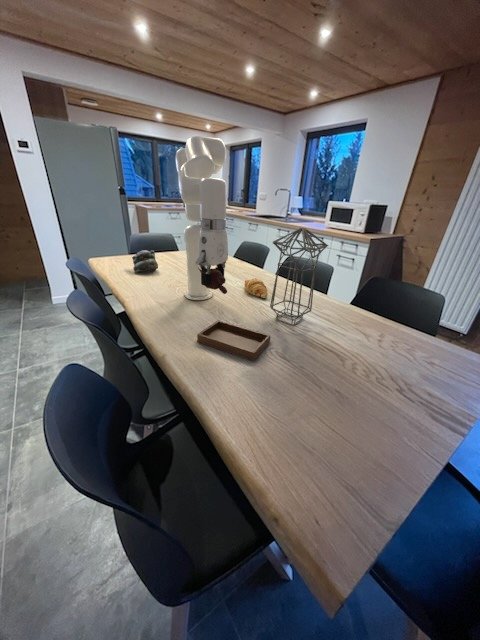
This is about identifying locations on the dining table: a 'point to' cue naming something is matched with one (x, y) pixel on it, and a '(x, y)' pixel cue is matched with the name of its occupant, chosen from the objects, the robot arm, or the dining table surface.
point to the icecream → (217, 281)
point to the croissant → (256, 287)
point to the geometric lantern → (276, 243)
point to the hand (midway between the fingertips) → (213, 282)
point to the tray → (234, 339)
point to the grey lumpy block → (144, 261)
